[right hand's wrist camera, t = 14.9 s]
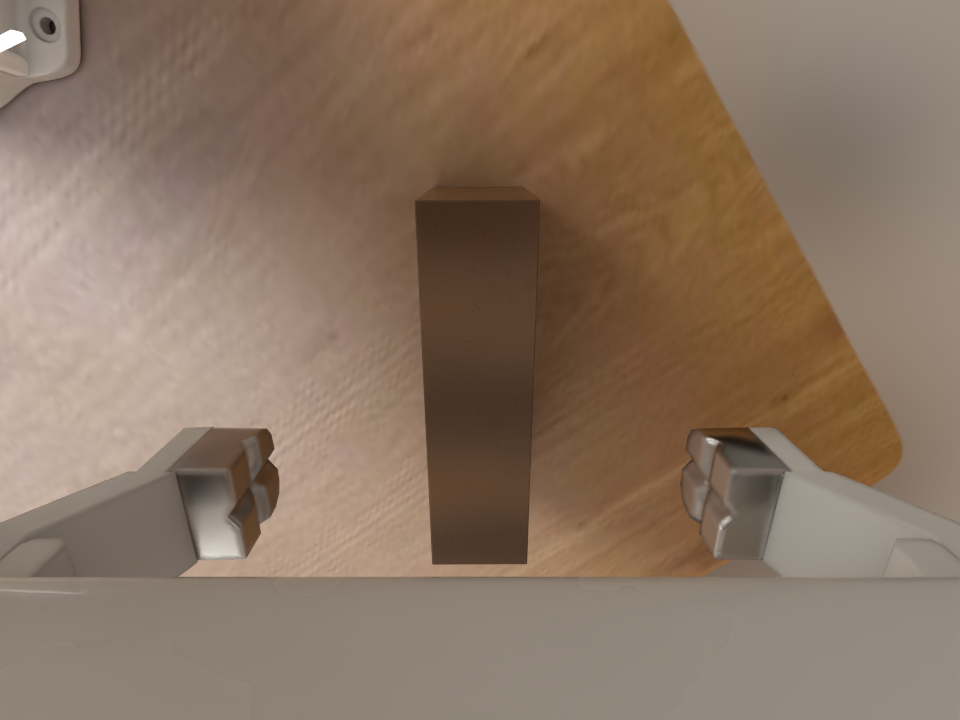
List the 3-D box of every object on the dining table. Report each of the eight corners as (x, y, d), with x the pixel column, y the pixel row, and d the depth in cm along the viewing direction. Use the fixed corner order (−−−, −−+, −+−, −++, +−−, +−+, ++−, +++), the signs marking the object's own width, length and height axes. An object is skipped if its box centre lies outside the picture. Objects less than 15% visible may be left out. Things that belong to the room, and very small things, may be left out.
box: (432, 187, 33) (414, 200, 24) (522, 186, 33) (540, 199, 24) (443, 469, 41) (432, 564, 32) (516, 469, 41) (527, 564, 32)
